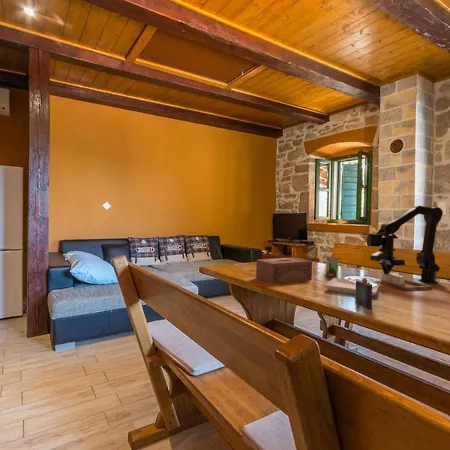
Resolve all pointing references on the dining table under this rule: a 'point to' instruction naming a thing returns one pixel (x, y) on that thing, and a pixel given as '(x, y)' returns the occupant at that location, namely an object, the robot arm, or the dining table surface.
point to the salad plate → (345, 286)
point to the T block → (393, 278)
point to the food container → (332, 266)
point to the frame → (417, 287)
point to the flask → (363, 293)
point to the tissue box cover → (283, 269)
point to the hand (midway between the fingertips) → (386, 276)
